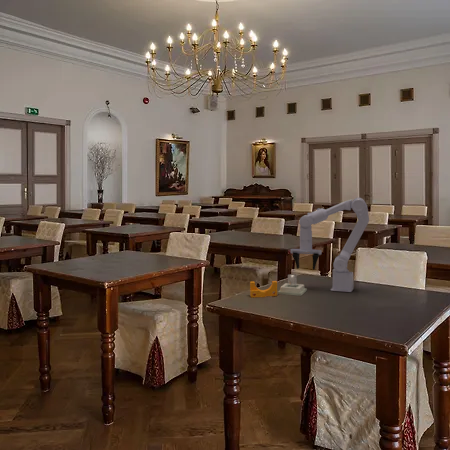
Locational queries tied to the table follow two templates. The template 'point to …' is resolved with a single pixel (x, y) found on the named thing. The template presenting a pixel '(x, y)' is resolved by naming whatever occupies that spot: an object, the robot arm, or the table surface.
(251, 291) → the pipe clamp
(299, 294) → the socket
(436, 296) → the table surface
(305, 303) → the table surface
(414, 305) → the table surface
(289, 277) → the grey cylinder
